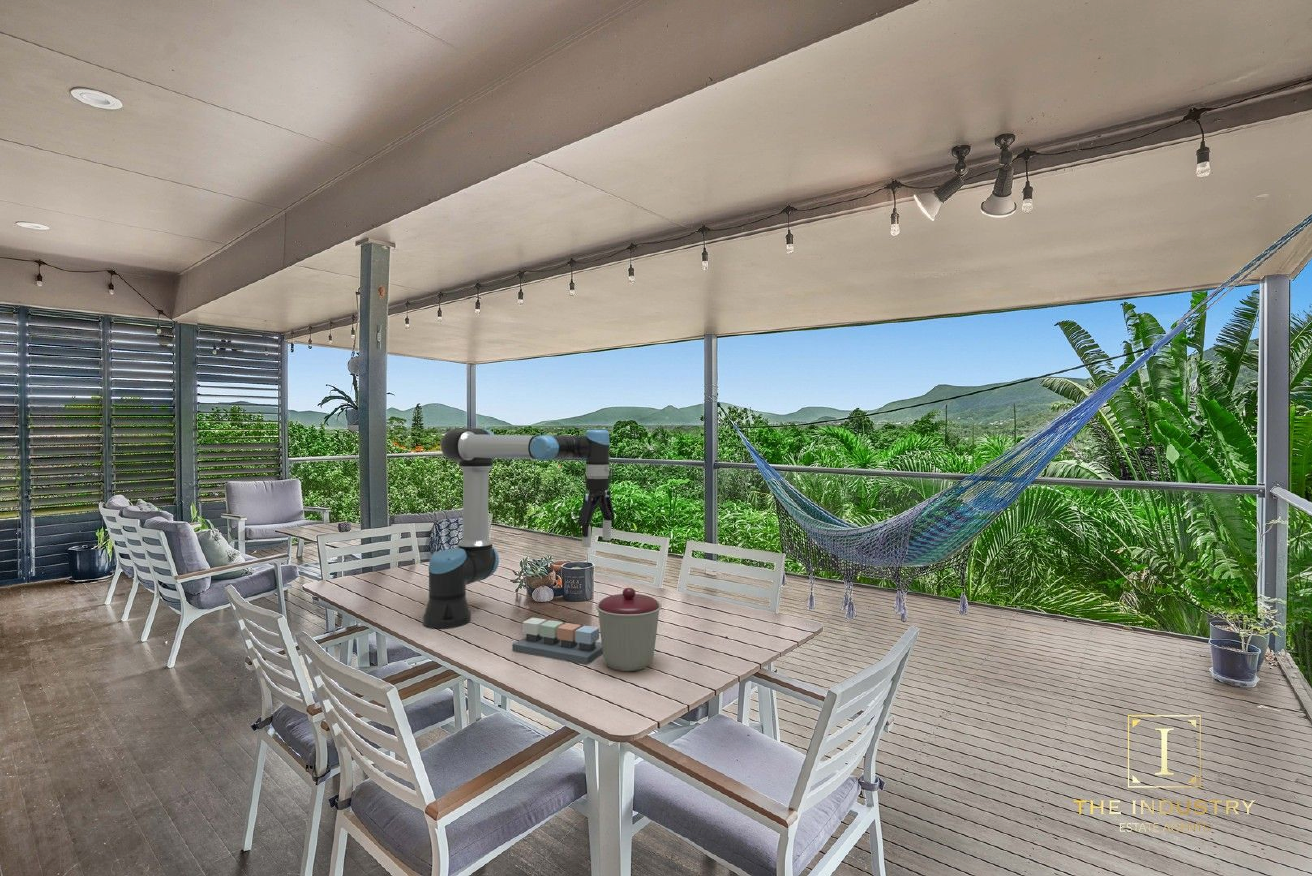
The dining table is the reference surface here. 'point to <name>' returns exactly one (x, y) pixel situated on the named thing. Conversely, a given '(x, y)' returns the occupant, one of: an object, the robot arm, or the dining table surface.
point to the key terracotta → (567, 631)
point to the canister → (628, 629)
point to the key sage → (550, 628)
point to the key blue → (587, 635)
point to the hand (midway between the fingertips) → (596, 543)
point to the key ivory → (532, 626)
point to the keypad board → (558, 649)
